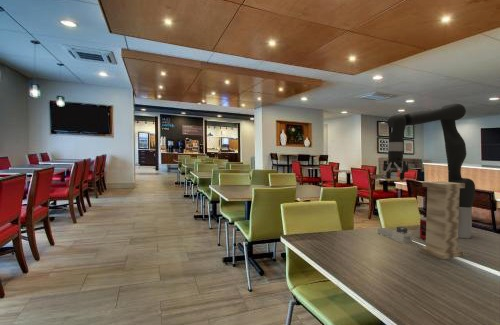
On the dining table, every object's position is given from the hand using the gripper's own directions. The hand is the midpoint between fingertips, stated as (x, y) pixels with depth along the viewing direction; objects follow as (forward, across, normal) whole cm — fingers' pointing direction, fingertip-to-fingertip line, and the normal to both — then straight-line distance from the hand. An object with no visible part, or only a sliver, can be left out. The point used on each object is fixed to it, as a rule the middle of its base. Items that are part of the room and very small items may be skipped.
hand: (394, 179), depth 153 cm
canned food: (+32, -11, -13) cm, 37 cm away
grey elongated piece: (+32, -3, +4) cm, 33 cm away
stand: (+32, -29, +4) cm, 43 cm away
